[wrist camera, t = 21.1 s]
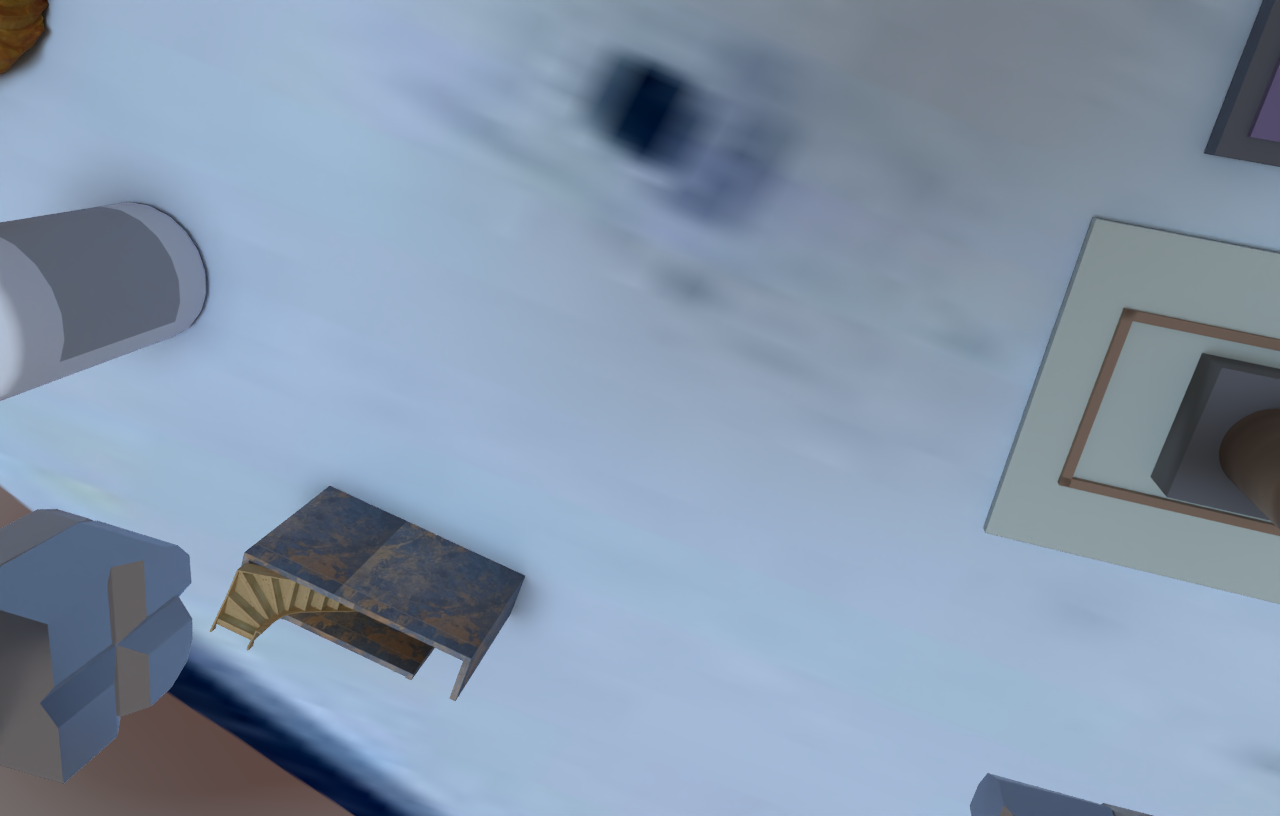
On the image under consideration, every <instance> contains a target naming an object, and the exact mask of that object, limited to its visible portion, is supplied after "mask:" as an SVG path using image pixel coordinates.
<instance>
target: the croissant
mask: <svg viewBox="0 0 1280 816" xmlns="http://www.w3.org/2000/svg"><path fill="white" fill-rule="evenodd" d="M47 7H48V1H47V0H0V74H1V73H3V72H5V71H7V70H8V69H9V68H10V67H11V66H12V65H13V64H14V63H15V61H16V60H17V59H18V58H19V57H20V56H22V55H23V54H24V53H25V52H26V51H28V50H29V49H30V48H31V47H33V46H34V44H35V43H36V41H37V39H38V38H39V37H40V35H41V34H42V33H43V31H44V30H45V29H44V23H43V17H42V15H41V13H42V11H44V10H45V9H46V8H47Z"/></svg>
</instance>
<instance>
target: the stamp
mask: <svg viewBox="0 0 1280 816" xmlns="http://www.w3.org/2000/svg"><path fill="white" fill-rule="evenodd" d="M1150 477H1151V478H1152V479H1153V481H1154V482H1155V483H1156V484H1157V486H1158V487H1159V488H1160V490H1161V491H1162V492H1163V493H1164V495H1165V496H1166V497H1168V498H1173V499H1177V500H1182V501H1186V502H1190V503H1195V504H1199V505H1204V506H1208V507H1212V508H1217V509H1221V510H1226V511H1230V512H1235V513H1239V514H1243V515H1248V516H1252V517H1257V518H1261V519H1265V520H1270V521H1272V522H1273V524H1274V525H1275V526H1276V527H1277V528H1278V529H1279V530H1280V369H1278V368H1274V367H1269V366H1264V365H1259V364H1254V363H1249V362H1244V361H1239V360H1234V359H1229V358H1224V357H1220V356H1215V355H1210V354H1205V353H1202V354H1201V357H1200V359H1199V361H1198V364H1197V366H1196V369H1195V371H1194V373H1193V376H1192V378H1191V381H1190V383H1189V385H1188V388H1187V390H1186V393H1185V395H1184V397H1183V400H1182V402H1181V405H1180V407H1179V409H1178V412H1177V414H1176V417H1175V419H1174V421H1173V424H1172V426H1171V428H1170V431H1169V433H1168V436H1167V438H1166V440H1165V443H1164V445H1163V448H1162V450H1161V452H1160V455H1159V457H1158V460H1157V462H1156V464H1155V467H1154V469H1153V472H1152V474H1151V476H1150Z"/></svg>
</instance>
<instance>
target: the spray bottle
mask: <svg viewBox="0 0 1280 816" xmlns="http://www.w3.org/2000/svg"><path fill="white" fill-rule="evenodd" d="M205 296H206V273H205V269H204V266H203V263H202V260H201V257H200V254H199V251H198V250H197V248H196V246H195V245H194V243H193V242H192V240H191V238H190V237H189V235H188V234H187V232H186V231H185V230H184V229H183V228H182V227H181V226H180V225H178V224H177V223H176V222H175V221H174V220H173V219H172V218H171V217H170V216H168V215H166V214H164V213H162V212H160V211H158V210H157V209H155V208H153V207H151V206H148V205H143V204H137V203H132V202H125V203H119V204H113V205H107V206H101V207H94V208H88V209H82V210H76V211H69V212H63V213H57V214H51V215H44V216H38V217H32V218H26V219H19V220H13V221H7V222H1V223H0V401H1V400H4V399H7V398H9V397H12V396H15V395H18V394H20V393H23V392H26V391H28V390H31V389H34V388H36V387H39V386H42V385H44V384H47V383H50V382H52V381H55V380H58V379H61V378H63V377H66V376H69V375H71V374H74V373H77V372H79V371H82V370H85V369H87V368H90V367H93V366H95V365H98V364H101V363H104V362H106V361H109V360H112V359H114V358H117V357H120V356H122V355H125V354H128V353H130V352H133V351H136V350H138V349H141V348H144V347H147V346H149V345H152V344H155V343H157V342H160V341H163V340H165V339H168V338H171V337H173V336H176V335H177V334H179V333H181V332H182V331H184V330H186V329H187V328H189V327H190V326H191V324H192V323H193V322H194V320H195V319H196V318H197V316H198V315H199V313H200V312H201V310H202V307H203V303H204V299H205Z"/></svg>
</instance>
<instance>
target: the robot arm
mask: <svg viewBox="0 0 1280 816" xmlns="http://www.w3.org/2000/svg"><path fill="white" fill-rule="evenodd" d="M190 584H191V570H190V557H189V555H188V554H187V553H186V552H185V551H184V550H183V549H181V548H180V547H179V546H178V545H175V544H172V543H168V542H165V541H162V540H159V539H155V538H152V537H149V536H146V535H142V534H139V533H136V532H133V531H129V530H126V529H123V528H120V527H116V526H113V525H110V524H106V523H103V522H100V521H93V520H91V519H88V518H85V517H82V516H78V515H75V514H71V513H68V512H65V511H61V510H58V509H40V510H36V511H34V512H32V513H30V514H28V515H26V516H24V517H22V518H20V519H18V520H16V521H14V522H13V523H11V524H9V525H7V526H5V527H3V528H1V529H0V766H3V767H7V768H10V769H14V770H18V771H21V772H24V773H27V774H31V775H34V776H38V777H41V778H44V779H48V780H51V781H55V782H58V783H62V784H64V783H65V782H66V781H67V780H68V779H70V778H71V777H72V776H73V775H74V774H75V773H76V772H77V771H79V770H80V769H81V768H82V767H83V766H84V765H85V764H87V763H88V762H89V761H90V760H91V759H92V758H93V757H94V756H96V755H97V754H98V753H99V752H100V751H101V750H102V749H104V748H105V747H106V746H107V745H108V744H109V743H110V742H111V741H112V740H114V739H115V738H116V737H117V735H118V728H119V722H120V717H122V716H125V715H127V714H130V713H133V712H136V711H139V710H142V709H145V708H147V707H151V706H152V705H153V704H154V703H155V702H156V701H157V700H158V699H159V698H160V697H161V696H162V695H164V693H166V692H167V691H168V690H169V689H170V688H171V687H172V685H173V684H174V682H175V680H176V679H177V677H178V675H179V674H180V672H181V670H182V668H183V667H184V665H185V663H186V662H187V659H188V655H189V651H190V647H191V643H192V618H191V616H190V614H189V613H188V611H187V609H186V608H185V606H184V605H183V603H182V601H181V600H180V598H179V596H180V595H181V594H182V593H183V592H184V590H185V589H186V588H187V587H188V586H189V585H190ZM970 810H971V816H1152V815H1148V814H1144V813H1141V812H1137V811H1133V810H1129V809H1125V808H1121V807H1117V806H1113V805H1109V804H1105V803H1103V804H1098V803H1094V802H1091V801H1087V800H1084V799H1080V798H1076V797H1073V796H1069V795H1065V794H1062V793H1058V792H1054V791H1051V790H1047V789H1044V788H1040V787H1036V786H1033V785H1029V784H1025V783H1022V782H1018V781H1015V780H1011V779H1007V778H1004V777H1000V776H996V775H993V774H989V773H987V775H986V776H985V777H984V778H983V780H982V781H981V782H980V783H979V785H978V787H977V790H976V792H975V794H974V797H973V799H972V801H971V804H970Z"/></svg>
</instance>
